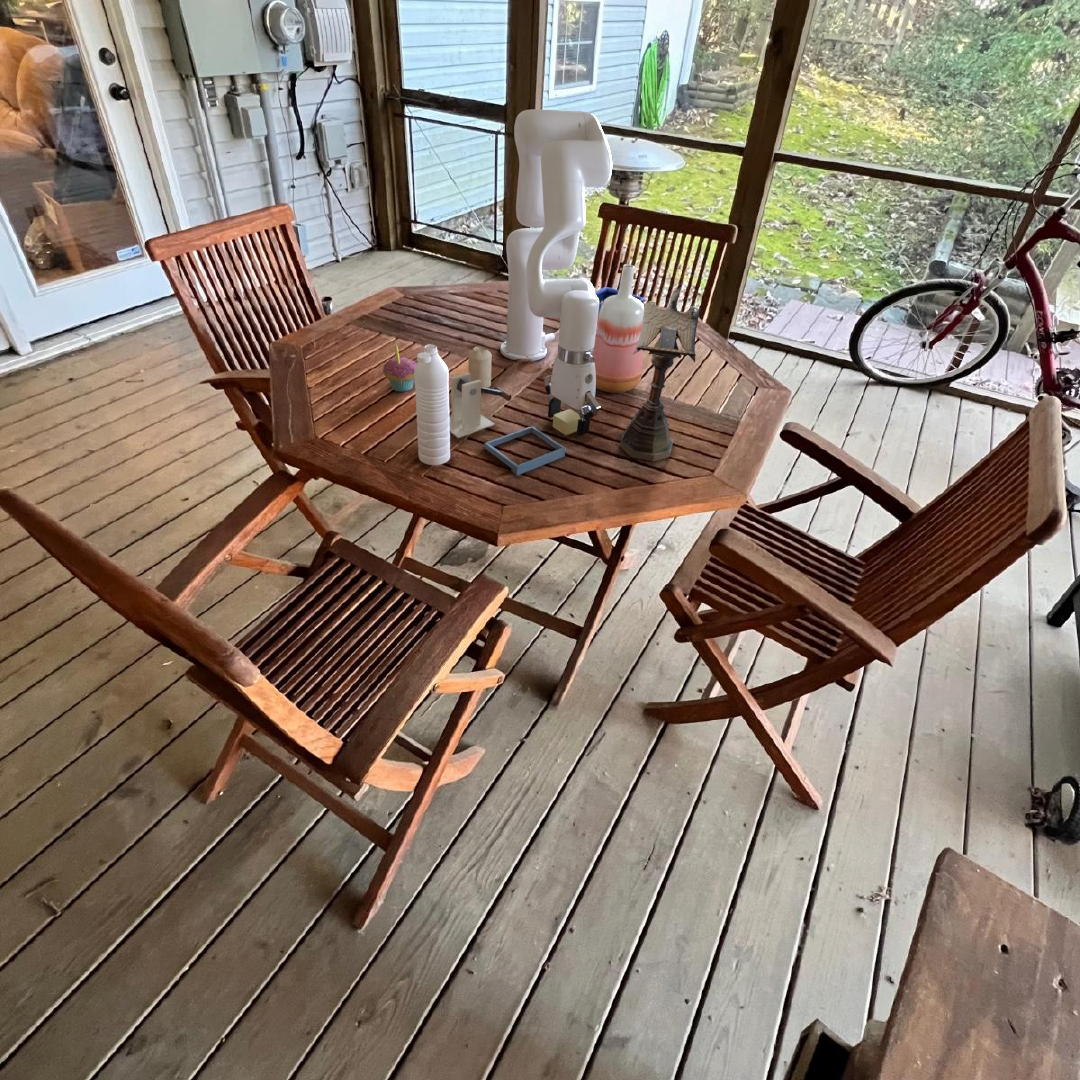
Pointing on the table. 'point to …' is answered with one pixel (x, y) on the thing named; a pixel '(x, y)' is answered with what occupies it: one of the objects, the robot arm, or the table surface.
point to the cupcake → (400, 372)
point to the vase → (619, 339)
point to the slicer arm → (487, 390)
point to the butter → (566, 421)
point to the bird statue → (659, 376)
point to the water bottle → (432, 407)
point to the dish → (532, 463)
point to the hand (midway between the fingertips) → (567, 424)
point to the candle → (480, 366)
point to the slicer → (466, 407)
